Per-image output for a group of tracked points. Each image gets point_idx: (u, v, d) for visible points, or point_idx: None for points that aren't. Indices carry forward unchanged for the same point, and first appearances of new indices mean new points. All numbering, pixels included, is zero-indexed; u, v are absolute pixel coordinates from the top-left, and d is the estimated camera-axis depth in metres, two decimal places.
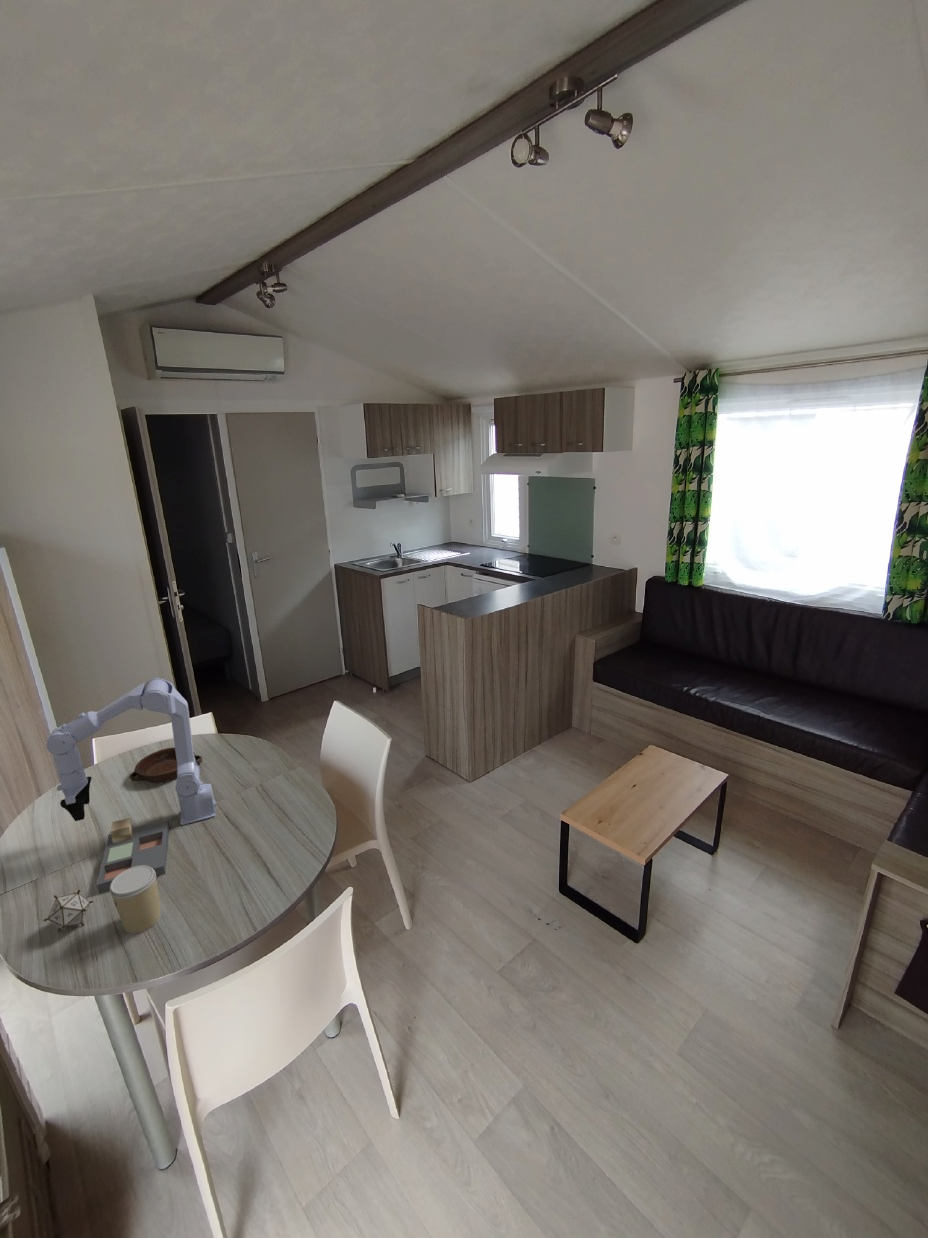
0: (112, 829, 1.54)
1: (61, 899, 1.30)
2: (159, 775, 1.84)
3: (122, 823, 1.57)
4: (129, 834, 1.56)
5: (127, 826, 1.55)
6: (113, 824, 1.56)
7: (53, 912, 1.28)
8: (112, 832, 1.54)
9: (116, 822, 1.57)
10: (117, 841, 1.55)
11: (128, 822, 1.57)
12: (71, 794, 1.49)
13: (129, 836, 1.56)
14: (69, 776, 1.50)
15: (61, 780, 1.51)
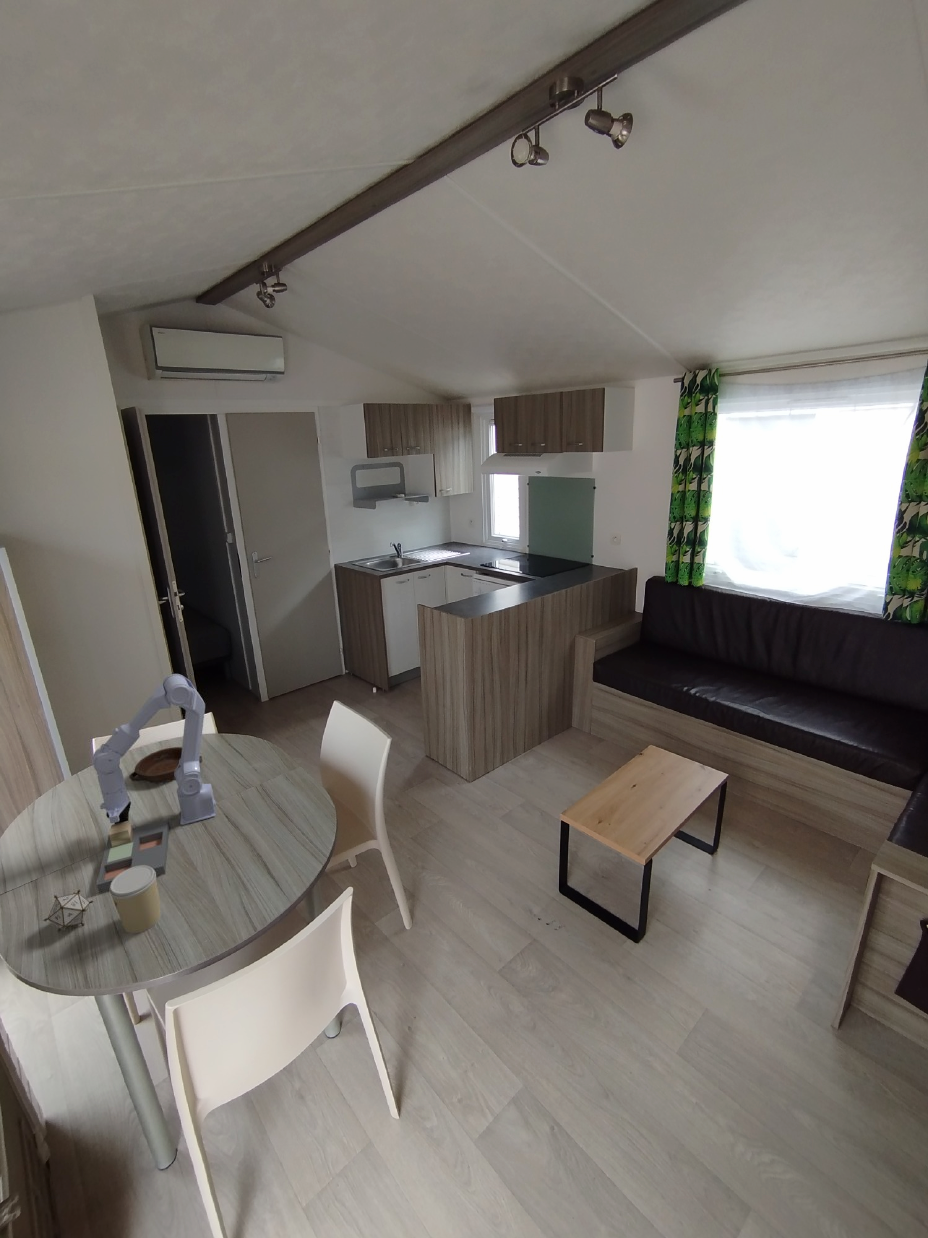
0: (111, 832, 1.53)
1: (61, 899, 1.30)
2: (159, 775, 1.84)
3: (121, 826, 1.55)
4: (128, 837, 1.54)
5: (126, 829, 1.54)
6: (112, 827, 1.55)
7: (53, 912, 1.28)
8: (111, 835, 1.52)
9: (115, 825, 1.56)
10: (116, 844, 1.54)
11: (127, 825, 1.56)
12: (115, 813, 1.52)
13: (128, 839, 1.55)
14: (112, 795, 1.53)
15: (105, 799, 1.53)
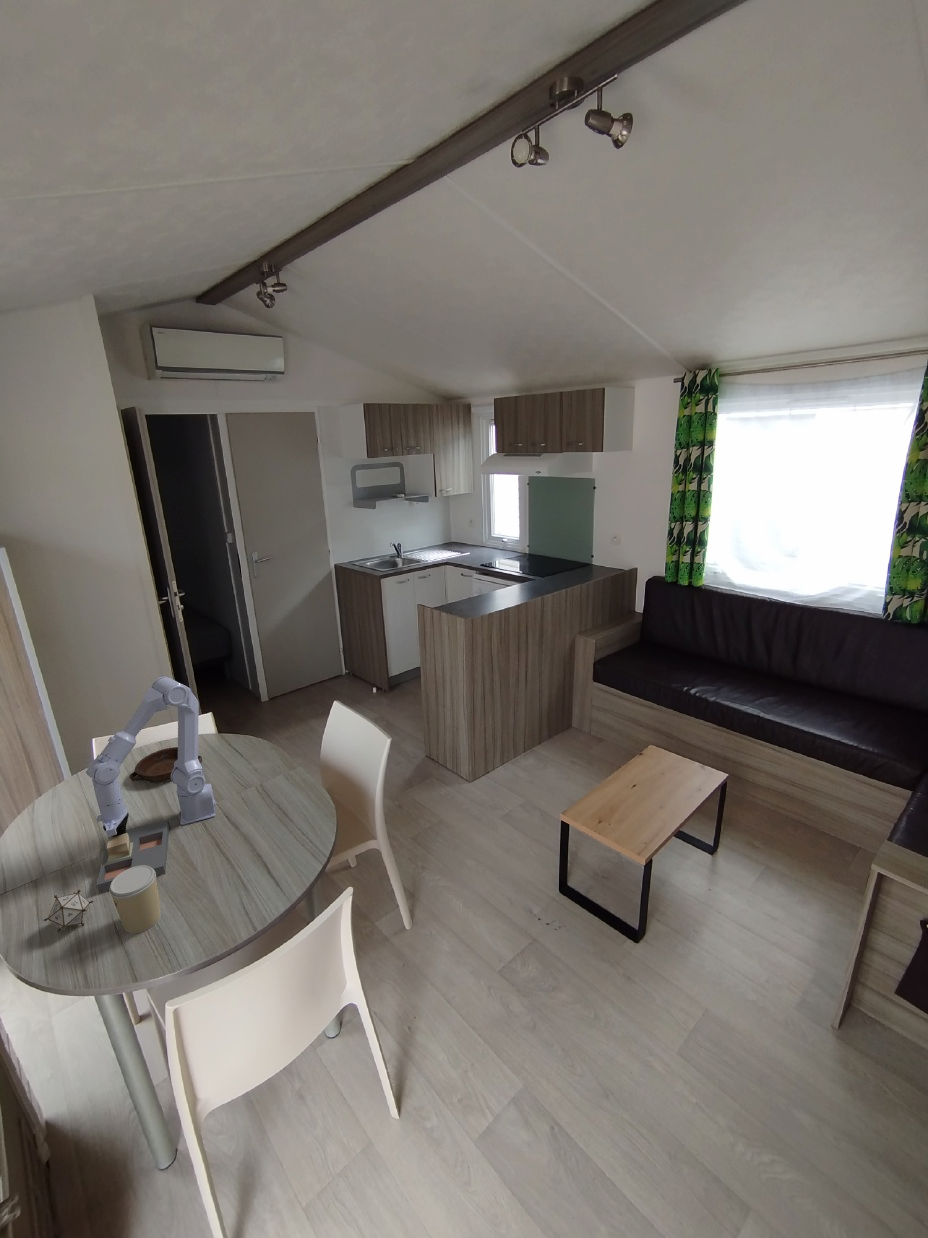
0: (109, 845, 1.48)
1: (61, 899, 1.30)
2: (159, 775, 1.84)
3: (119, 839, 1.50)
4: (127, 850, 1.49)
5: (125, 842, 1.49)
6: (109, 841, 1.50)
7: (53, 912, 1.28)
8: (109, 849, 1.47)
9: (112, 838, 1.51)
10: (114, 857, 1.48)
11: (125, 838, 1.51)
12: (112, 826, 1.47)
13: (127, 852, 1.50)
14: (109, 807, 1.48)
15: (101, 811, 1.48)
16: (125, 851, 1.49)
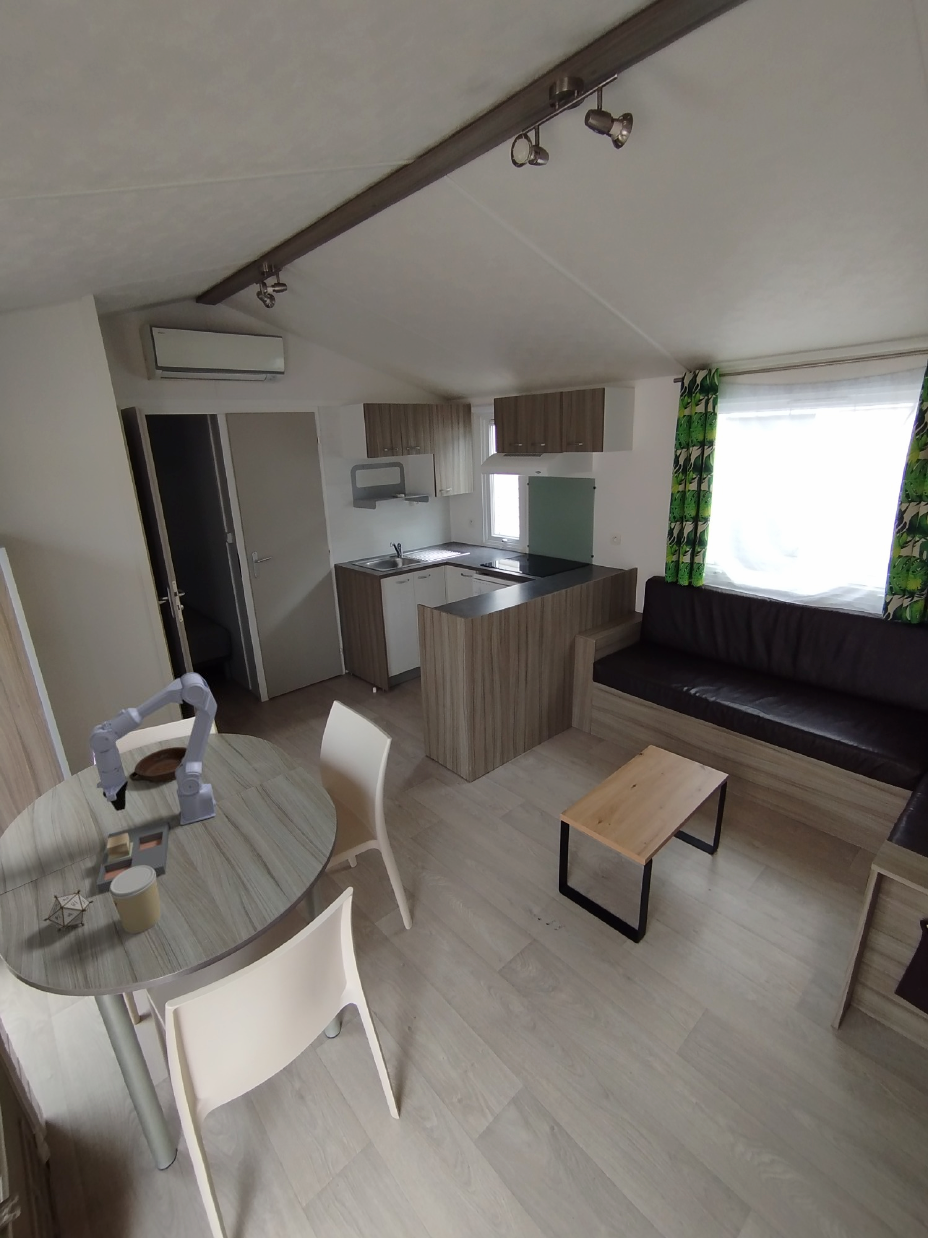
0: (109, 846, 1.48)
1: (61, 899, 1.30)
2: (159, 775, 1.84)
3: (119, 839, 1.50)
4: (127, 850, 1.49)
5: (125, 842, 1.49)
6: (109, 841, 1.50)
7: (53, 912, 1.28)
8: (109, 849, 1.47)
9: (112, 838, 1.51)
10: (114, 857, 1.48)
11: (125, 838, 1.51)
12: (112, 791, 1.51)
13: (127, 852, 1.50)
14: (109, 774, 1.52)
15: (101, 777, 1.52)
16: (125, 851, 1.49)
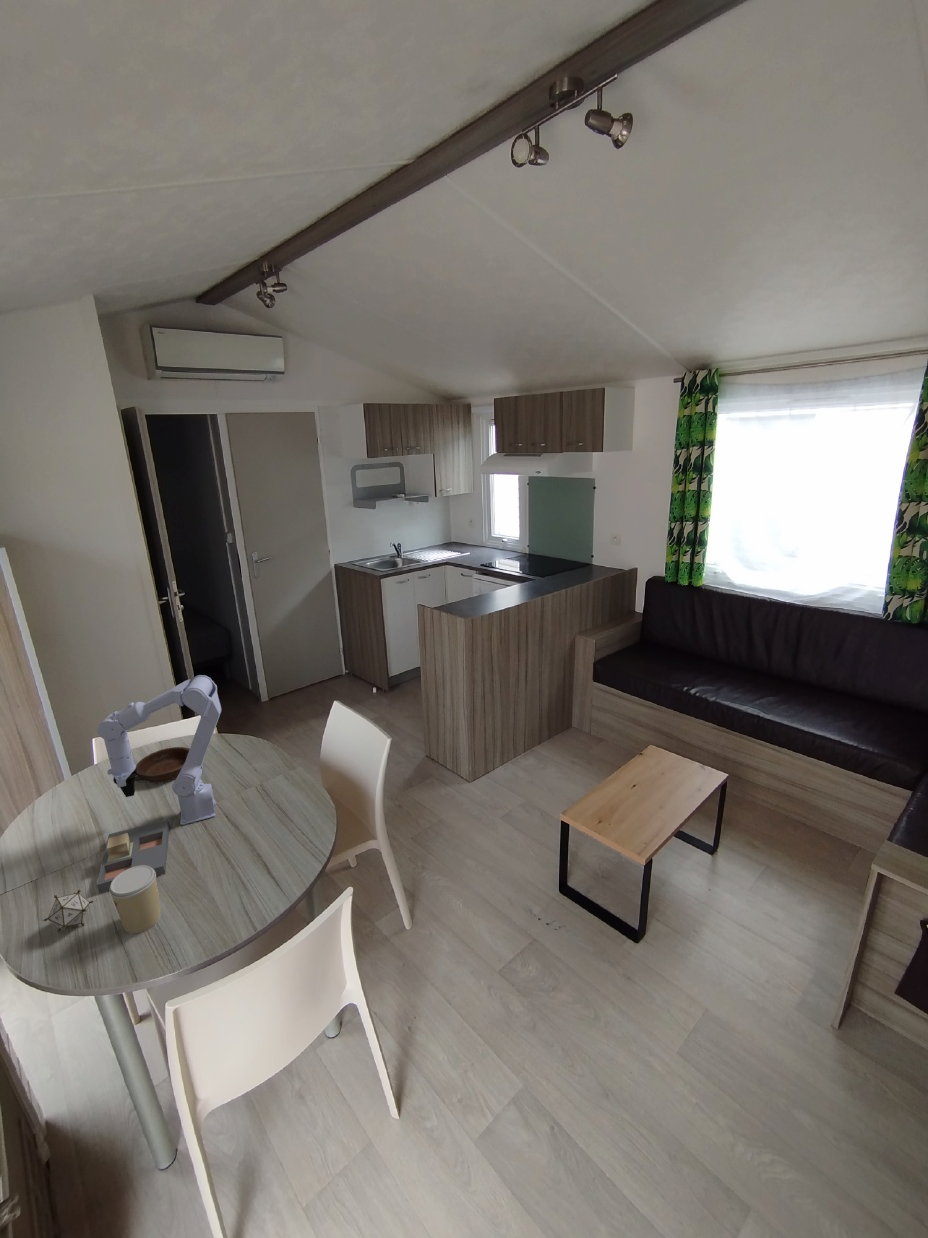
0: (109, 846, 1.48)
1: (61, 899, 1.30)
2: (159, 775, 1.84)
3: (119, 839, 1.50)
4: (127, 850, 1.49)
5: (125, 842, 1.49)
6: (109, 841, 1.50)
7: (53, 912, 1.28)
8: (109, 849, 1.47)
9: (112, 838, 1.51)
10: (114, 857, 1.48)
11: (125, 838, 1.51)
12: (122, 778, 1.57)
13: (127, 852, 1.50)
14: (119, 761, 1.58)
15: (112, 764, 1.58)
16: (125, 851, 1.49)
